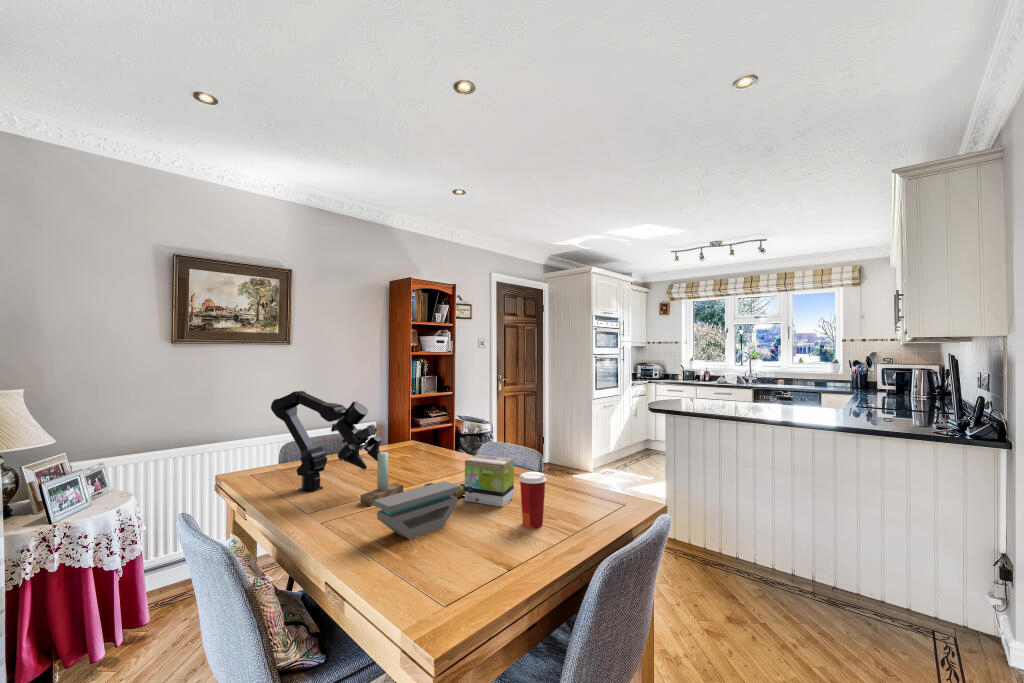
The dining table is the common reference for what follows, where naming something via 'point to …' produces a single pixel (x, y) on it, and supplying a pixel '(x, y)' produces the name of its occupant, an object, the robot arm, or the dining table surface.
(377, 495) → the brown wooden block
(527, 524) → the coffee cup
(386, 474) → the post
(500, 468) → the tea box
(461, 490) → the gavel
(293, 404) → the robot arm
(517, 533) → the dining table surface
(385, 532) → the dining table surface
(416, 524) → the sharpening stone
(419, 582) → the dining table surface
